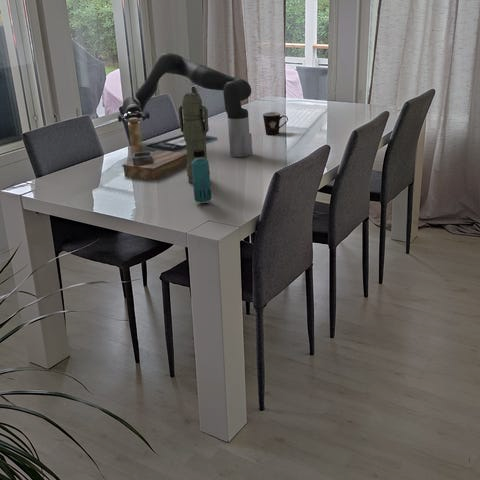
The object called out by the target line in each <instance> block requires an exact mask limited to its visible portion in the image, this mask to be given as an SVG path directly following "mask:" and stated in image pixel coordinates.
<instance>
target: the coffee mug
mask: <svg viewBox="0 0 480 480" xmlns="http://www.w3.org/2000/svg"><path fill="white" fill-rule="evenodd" d="M284 117H285V118H286V121H285V122H284V123H282V124H281V125H280V123H281V120H282V118H284ZM262 119H263V124H264V130H265V134H266V136H276V135H279V134H280V128H282V127H283V126H284V125H286V124H287V122H288V121H289V119H288V116H287V115H281V113H280V112H277V111H274V112H273V111H271V112H264V113H263V114H262Z"/></svg>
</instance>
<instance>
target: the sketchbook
mask: <svg viewBox="0 0 480 480" xmlns="http://www.w3.org/2000/svg"><path fill="white" fill-rule="evenodd" d="M214 141H218V137H217V136H212V135H209V134H206V144H207V143H211V142H214ZM144 147H145V148H146V149H151V150H154V151H157V150H161V151H171V152H182V151H185V150H186V142H185V140H184V134H183V133H182V134H179V135H176V136H174V137H173V136H172V137H170V138H166V139H164V140H163V139H162V140H159V141H156V142H153V143H150V144H147V145H143V148H144Z"/></svg>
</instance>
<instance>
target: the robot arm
mask: <svg viewBox="0 0 480 480" xmlns="http://www.w3.org/2000/svg"><path fill="white" fill-rule="evenodd" d="M165 74H172V75H178V76H182V77H185V78H187V79H188V80H190V82H192V83H193V84H195V85H197V86H198V87H201V88H203V89H208V90H215V91H222V93H223V101H224V109H225V112H226V114H227V115H226V116H227V126H228V127H227V128H228V129H227V130H228V139H229V140H228V141H229V155H230V156H231V157H233V158H246V157H249V156H251V155H253V145H252V144H253V141H252V139H253V138H252V133H251V132H250V123H249V121H250V120H249V119H250V118H249V111H248V109H246V108H243V107H242V103H241V102H243V101H245V100H247V99H248V98H250V96H251V94H252V87H251V85H250V83H249V82H248V81H247V80H245V79H243V78H238V77H235V76H232V75H228V74H225V73H222V72H220V71H218V70H216V69H213V68H211V67H209V66H206V65H204V64H200V63H196V62H193V61H190V60H189V59H186V58H184V57H183V56H181V55H179V54H177V53H172V52H164V53H162V54H161V55H159V57H158V59H157V60H156V62H155V63H154V66H153V68H152V69H151V70H150V73H149V74H148V76H147V79H145V81H144V82H143V84H142V85H141V86H140V87H139V89H137V91H136V92H135V98H136V99H135V98H134V97H132V96H128V97H127V98H125V99H124V101H123V102H122V108H123V109H122V110H124V111H125V113H124V114H122V113H118V115H117V119H118V120H117V121H118V122H119V123H120V122H123V123H126V122H129V118H138V121H139V122H140V121H143V122H144V121H145V120H146V119H147V120H149V119H150V112H149V111H148V110H146V111H145V109H146V106H147V104H148V102H149V100H151V98H152V97H153V96H155V95H154V94H156V92H157V90H158V85H159V81H160V79H161V78H162V77H163V76H165Z"/></svg>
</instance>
